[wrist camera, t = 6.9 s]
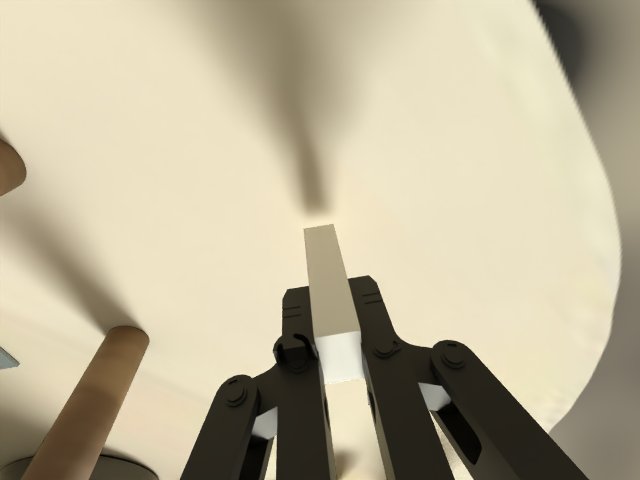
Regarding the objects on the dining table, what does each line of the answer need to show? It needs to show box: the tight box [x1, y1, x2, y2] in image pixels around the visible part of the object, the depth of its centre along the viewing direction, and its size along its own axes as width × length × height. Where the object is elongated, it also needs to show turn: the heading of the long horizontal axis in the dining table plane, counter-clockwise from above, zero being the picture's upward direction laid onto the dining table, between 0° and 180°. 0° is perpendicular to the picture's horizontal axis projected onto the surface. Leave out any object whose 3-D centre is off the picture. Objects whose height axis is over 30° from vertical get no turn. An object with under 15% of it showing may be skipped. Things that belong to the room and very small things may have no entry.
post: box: [21, 326, 149, 480], centre depth 17 cm, size 3×3×9 cm
